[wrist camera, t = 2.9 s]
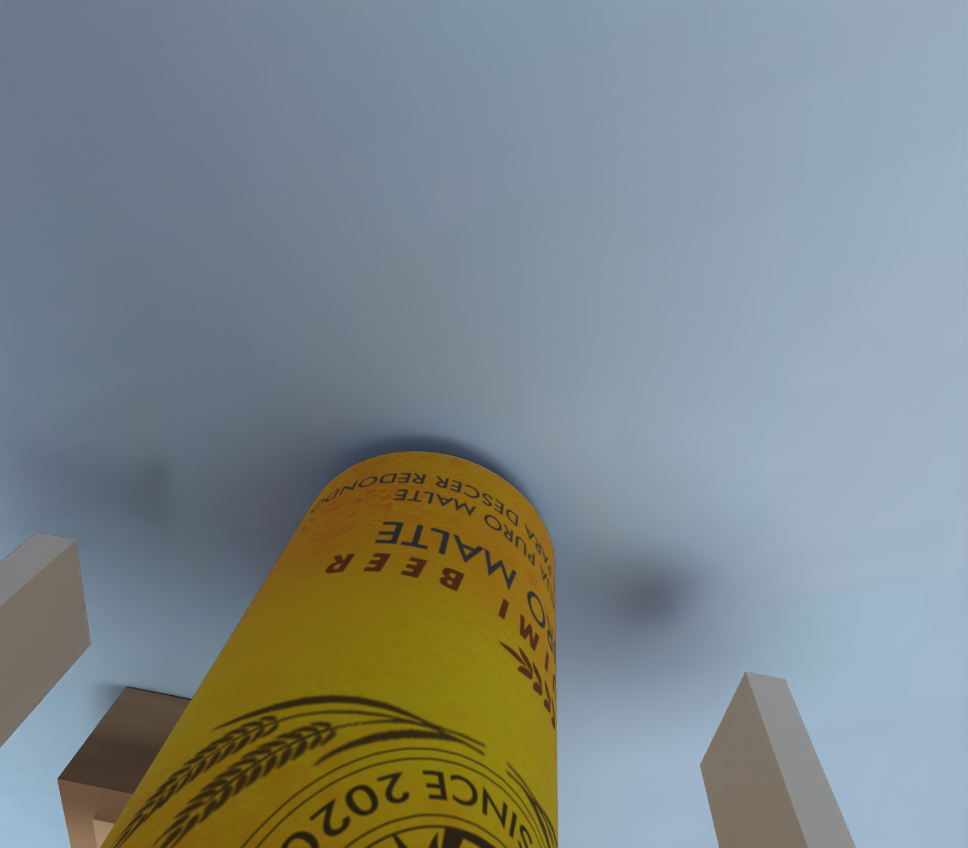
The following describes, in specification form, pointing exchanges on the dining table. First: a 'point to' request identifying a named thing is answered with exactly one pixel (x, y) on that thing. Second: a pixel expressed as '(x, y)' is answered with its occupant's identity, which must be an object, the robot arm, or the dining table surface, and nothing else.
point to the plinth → (115, 763)
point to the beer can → (377, 680)
